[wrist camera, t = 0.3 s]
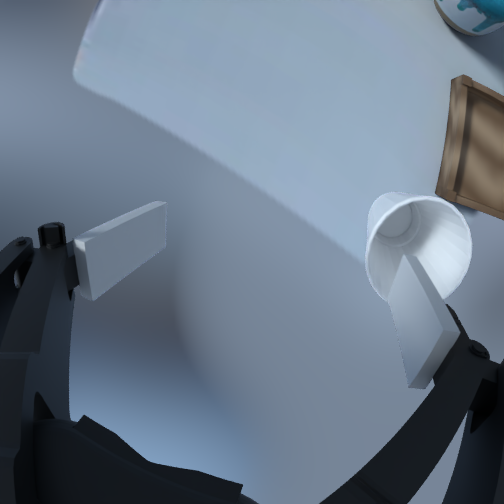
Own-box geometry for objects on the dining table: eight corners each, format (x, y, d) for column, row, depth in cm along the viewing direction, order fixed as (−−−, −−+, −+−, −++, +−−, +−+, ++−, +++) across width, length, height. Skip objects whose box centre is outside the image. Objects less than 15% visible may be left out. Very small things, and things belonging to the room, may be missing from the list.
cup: (439, 230, 37) (484, 276, 22) (375, 266, 42) (392, 328, 27) (405, 160, 35) (448, 173, 20) (337, 201, 40) (342, 236, 25)
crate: (451, 79, 28) (463, 74, 24) (525, 118, 25) (541, 118, 21) (434, 193, 35) (446, 199, 31) (508, 220, 32) (522, 228, 28)
